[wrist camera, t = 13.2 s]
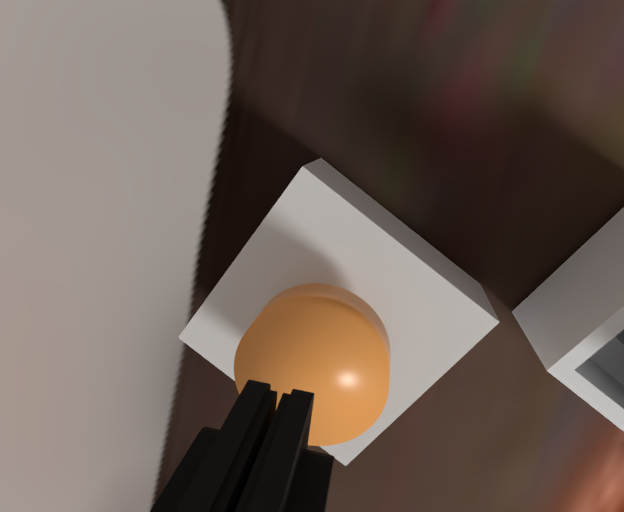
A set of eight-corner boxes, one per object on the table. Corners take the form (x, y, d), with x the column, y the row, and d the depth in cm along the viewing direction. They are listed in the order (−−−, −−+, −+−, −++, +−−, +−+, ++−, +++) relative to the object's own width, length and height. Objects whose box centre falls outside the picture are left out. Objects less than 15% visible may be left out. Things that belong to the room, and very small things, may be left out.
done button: (420, 344, 15) (423, 376, 13) (332, 432, 17) (323, 471, 15) (305, 254, 15) (292, 273, 13) (227, 352, 17) (206, 381, 15)
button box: (480, 283, 20) (499, 322, 16) (354, 409, 23) (345, 466, 19) (321, 157, 19) (302, 166, 16) (215, 301, 22) (178, 337, 19)
